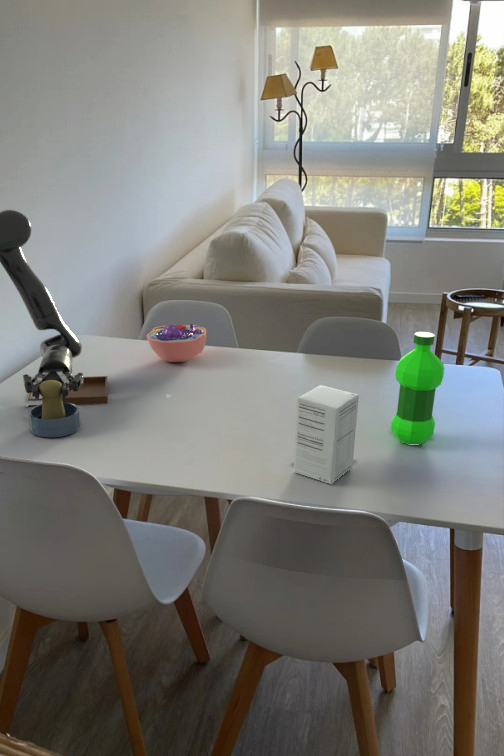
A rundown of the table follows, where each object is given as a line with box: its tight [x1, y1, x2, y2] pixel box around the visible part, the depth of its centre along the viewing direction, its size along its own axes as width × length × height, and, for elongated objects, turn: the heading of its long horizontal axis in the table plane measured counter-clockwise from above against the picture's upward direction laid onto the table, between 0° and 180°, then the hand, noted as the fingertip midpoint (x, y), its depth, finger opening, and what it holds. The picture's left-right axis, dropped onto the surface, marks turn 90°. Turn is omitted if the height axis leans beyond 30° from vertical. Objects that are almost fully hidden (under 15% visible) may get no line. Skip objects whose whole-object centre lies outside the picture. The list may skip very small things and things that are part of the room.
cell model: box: [146, 323, 207, 363], centre depth 208 cm, size 17×20×11 cm
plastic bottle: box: [390, 331, 445, 445], centre depth 156 cm, size 10×10×25 cm
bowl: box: [27, 402, 82, 438], centre depth 162 cm, size 11×11×4 cm
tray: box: [27, 375, 109, 408], centre depth 183 cm, size 19×15×2 cm
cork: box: [39, 380, 66, 420], centre depth 160 cm, size 6×6×11 cm
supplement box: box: [293, 384, 360, 485], centre depth 143 cm, size 10×9×17 cm
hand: (50, 394), depth 157 cm, fingers closed on cork, 5 cm apart
